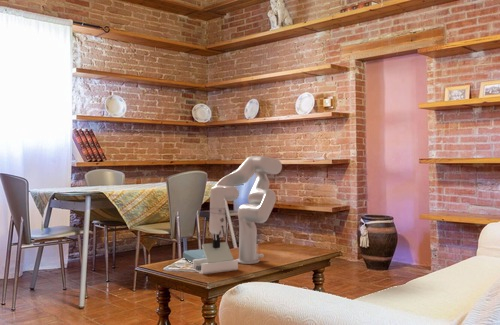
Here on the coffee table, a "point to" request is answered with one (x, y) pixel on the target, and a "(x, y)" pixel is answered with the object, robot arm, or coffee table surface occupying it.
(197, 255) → the book
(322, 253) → the coffee table surface
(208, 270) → the white channel
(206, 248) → the cover
